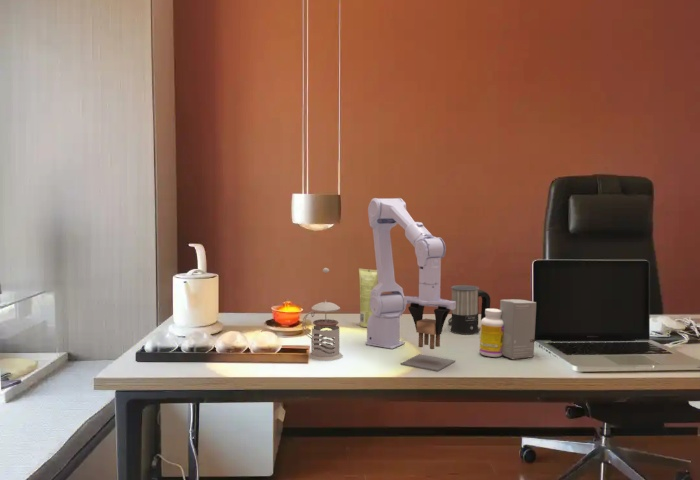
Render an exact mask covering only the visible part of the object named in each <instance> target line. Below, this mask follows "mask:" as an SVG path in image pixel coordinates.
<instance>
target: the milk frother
mask: <svg viewBox="0 0 700 480" xmlns="http://www.w3.org/2000/svg"><path fill="white" fill-rule="evenodd" d="M450 288H451V301H456V309H453V310H451V317H449V319H448V321H447V322H448V324H449V325H450V327H451V328H450V332H452V333H454V334H458V335H474V334H477V333H479V331H480V330H479V298H480V297H481V310H480V311H481V312H480V313H481V314H480V320H482V319H483V318H485V317H486V315H485V309H491V296H490V294H489V293H488V292H487V291H485V290H481V289H480V287H479V286H476V285H466V284H464V285H463V284H462V285H459V284H458V285H452V286H451V287H450Z"/></svg>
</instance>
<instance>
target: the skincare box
mask: <svg viewBox="0 0 700 480" xmlns="http://www.w3.org/2000/svg"><path fill="white" fill-rule="evenodd" d="M499 302H500V303H499V310H501V311H502V315H501V320H502V321H503V323H504V329H503V343H502V356H503V357H505V358H508V359H511V360H517V359H525V358H533V357H534V356H535V352H534V351H535V339H536V337H535V335H536V319H537V317H536V316H537V301H531V300H527V299H515V298H513V299H512V298H511V299H500V301H499Z"/></svg>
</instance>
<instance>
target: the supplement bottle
mask: <svg viewBox="0 0 700 480" xmlns="http://www.w3.org/2000/svg"><path fill="white" fill-rule="evenodd" d="M485 315H486V317H485V318H483V319H482V320H481V319H480V320H481V321H480V333H479V334H480V336H479V353H480V355H482V356H485V357H492V358H499V357H502V356H503V355H502V343H503V329H504V323H503V321H502V320H501V315H502V311H501V310H500V308H499V309H498V308H490V309H485Z"/></svg>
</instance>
